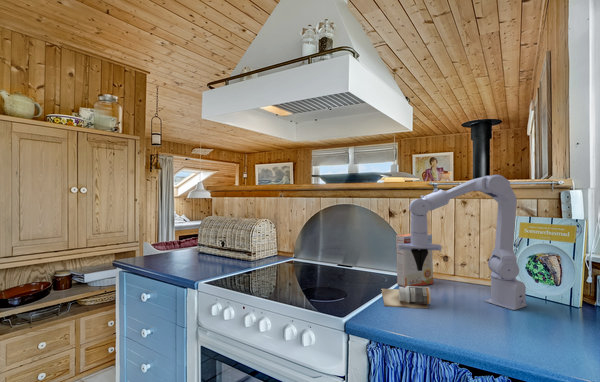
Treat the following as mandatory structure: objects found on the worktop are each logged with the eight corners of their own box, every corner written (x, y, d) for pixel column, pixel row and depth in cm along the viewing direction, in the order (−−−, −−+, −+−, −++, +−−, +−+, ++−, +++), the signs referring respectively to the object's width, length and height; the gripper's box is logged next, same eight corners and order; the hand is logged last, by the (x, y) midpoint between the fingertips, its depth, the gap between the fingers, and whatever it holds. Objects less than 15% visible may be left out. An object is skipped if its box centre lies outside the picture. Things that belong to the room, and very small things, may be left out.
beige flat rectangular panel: (418, 291, 122) (418, 290, 122) (428, 308, 104) (428, 307, 104) (381, 289, 125) (381, 288, 125) (384, 306, 107) (384, 304, 107)
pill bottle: (428, 301, 110) (398, 299, 112) (428, 284, 110) (398, 283, 112) (431, 306, 104) (400, 304, 107) (431, 289, 105) (399, 287, 107)
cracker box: (423, 280, 137) (423, 232, 137) (433, 284, 131) (433, 234, 131) (396, 284, 132) (395, 234, 132) (405, 288, 127) (404, 235, 127)
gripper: (437, 231, 116) (438, 268, 116) (396, 230, 119) (397, 266, 119) (442, 233, 109) (443, 273, 109) (399, 233, 112) (399, 271, 112)
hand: (419, 270), depth 114 cm, fingers closed
